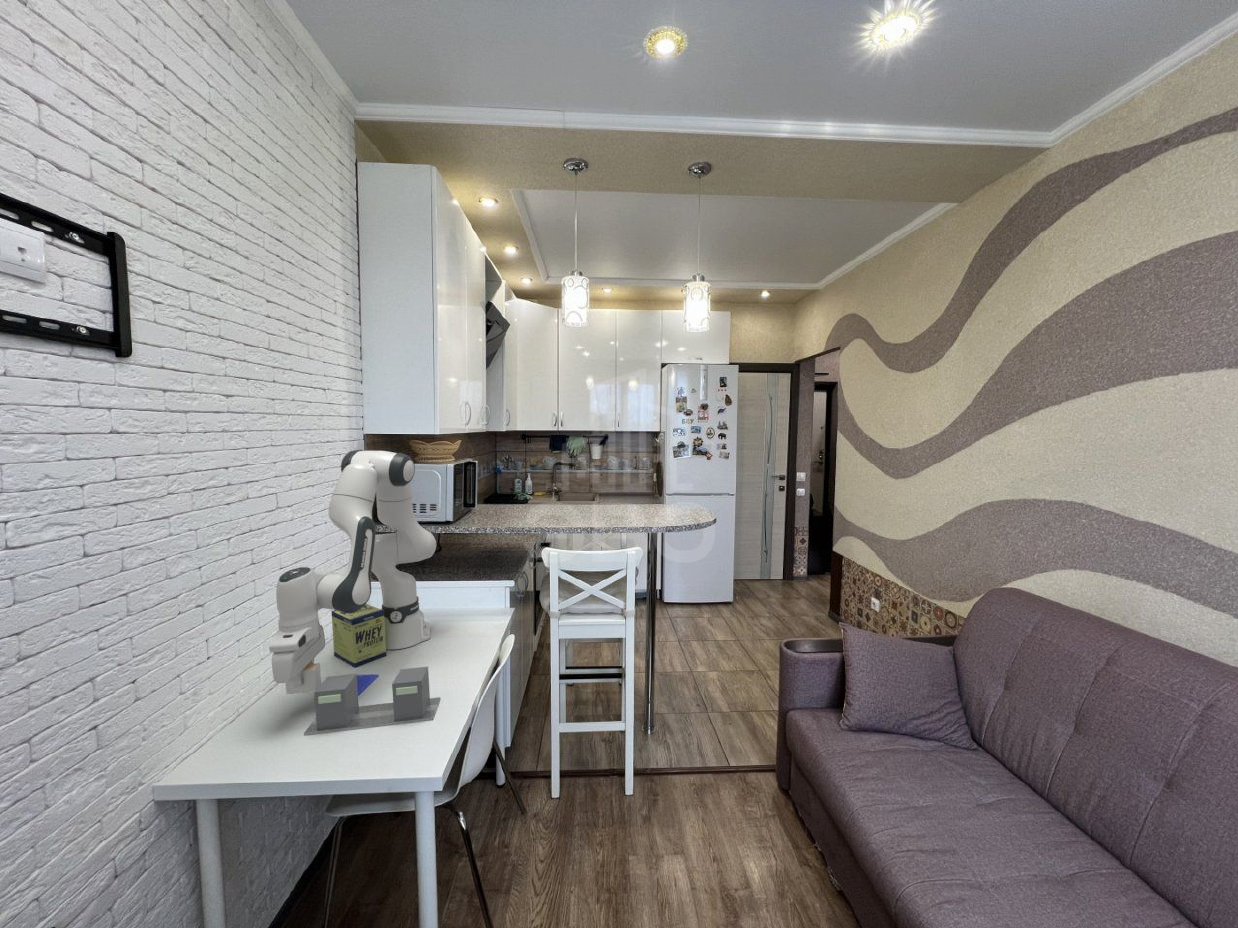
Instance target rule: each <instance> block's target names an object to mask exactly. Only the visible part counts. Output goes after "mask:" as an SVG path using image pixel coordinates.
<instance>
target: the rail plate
mask: <svg viewBox="0 0 1238 928" xmlns="http://www.w3.org/2000/svg"><path fill="white" fill-rule="evenodd" d="M440 701H441V697H440V696H439V697H438V696H437V697H430V701H429V704H428V706H427V709H426V711H425V714H424V716H423V717H416V718H408V719H399V720H394V708H393V702H387V703H386V702H385V703H377V704H369V705H359V709H358V710H357V712H356V713H355V715H354V716H353V718H352V719H351V721H350V722H349V724H348V725H347V726H340V727H332V728H323V729H317V725H316V717H315V718H314V719H313V721H312V722H311V723H310V724H309V726H308V727H307V728H306V729H305V731H303V735H304V736H309V735H310V736H311V735H317V734H328V733H335V732H344V731H352V730H360V729H368V728H377V727H385V726H394V725H395V726H396V725H401V724H408V723H409V724H410V723H419V722H420V723H421V722H426V721H427V722H429V721H434V718H435V715H436V712H437V710H438V707H439V704H440Z"/></svg>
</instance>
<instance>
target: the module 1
mask: <svg viewBox="0 0 1238 928" xmlns="http://www.w3.org/2000/svg"><path fill="white" fill-rule="evenodd" d="M357 675H358V674H357V673H351V674H343V675H342V674H340V675H331V676H327V677H326V678H325V679H324V681H323V682H321V685H320V686H319V687H318V689H317V690H316V691H315V692H313V693H314V705H315V706H314V709H315V718H316V725H317V729H323V728H332V727H340V726H347V725H348V724H349V722H350V721H351V719H352V718H353V716H354V715H355V713H356V712H357V710H358V709H359V706H360V705H359V698H358V688H357Z"/></svg>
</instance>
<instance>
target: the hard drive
mask: <svg viewBox="0 0 1238 928" xmlns="http://www.w3.org/2000/svg"><path fill="white" fill-rule="evenodd" d="M378 679H380V675H379V674H378V673H375V674H357V688H358V699H360V697H361V696H362V695H363V694H364V693H365V692H366V691H367V690H368V689H369V688H370V687H372V686H373V684H374V683H375V682H377V680H378Z"/></svg>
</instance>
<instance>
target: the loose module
mask: <svg viewBox="0 0 1238 928" xmlns="http://www.w3.org/2000/svg"><path fill="white" fill-rule="evenodd" d="M300 676H301V678H303V679H304V681H303V682H304V684H303V685H302V686H301V687H299V688H295V687H294V684H293V681H291V682H287V683H285V692H286V695H291V694H293V695H294V694H302V693H314V692H315V691H316V690H317V689H318V687H319V686H320V685H321V684H322V677H321V676H322V675H321V663H320V662H319V663H318V662H317V663H314V664H308V665H307V666H306V667H305V668H304V669H303V670H302V671H301V675H300Z"/></svg>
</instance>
